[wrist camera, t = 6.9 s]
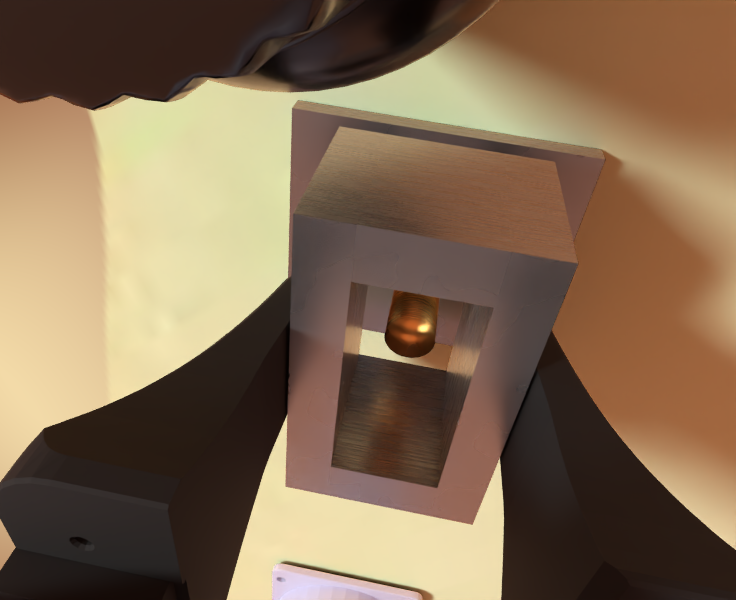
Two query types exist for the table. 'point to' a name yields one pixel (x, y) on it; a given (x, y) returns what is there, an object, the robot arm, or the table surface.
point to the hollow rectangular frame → (426, 277)
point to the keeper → (320, 123)
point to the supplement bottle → (213, 45)
